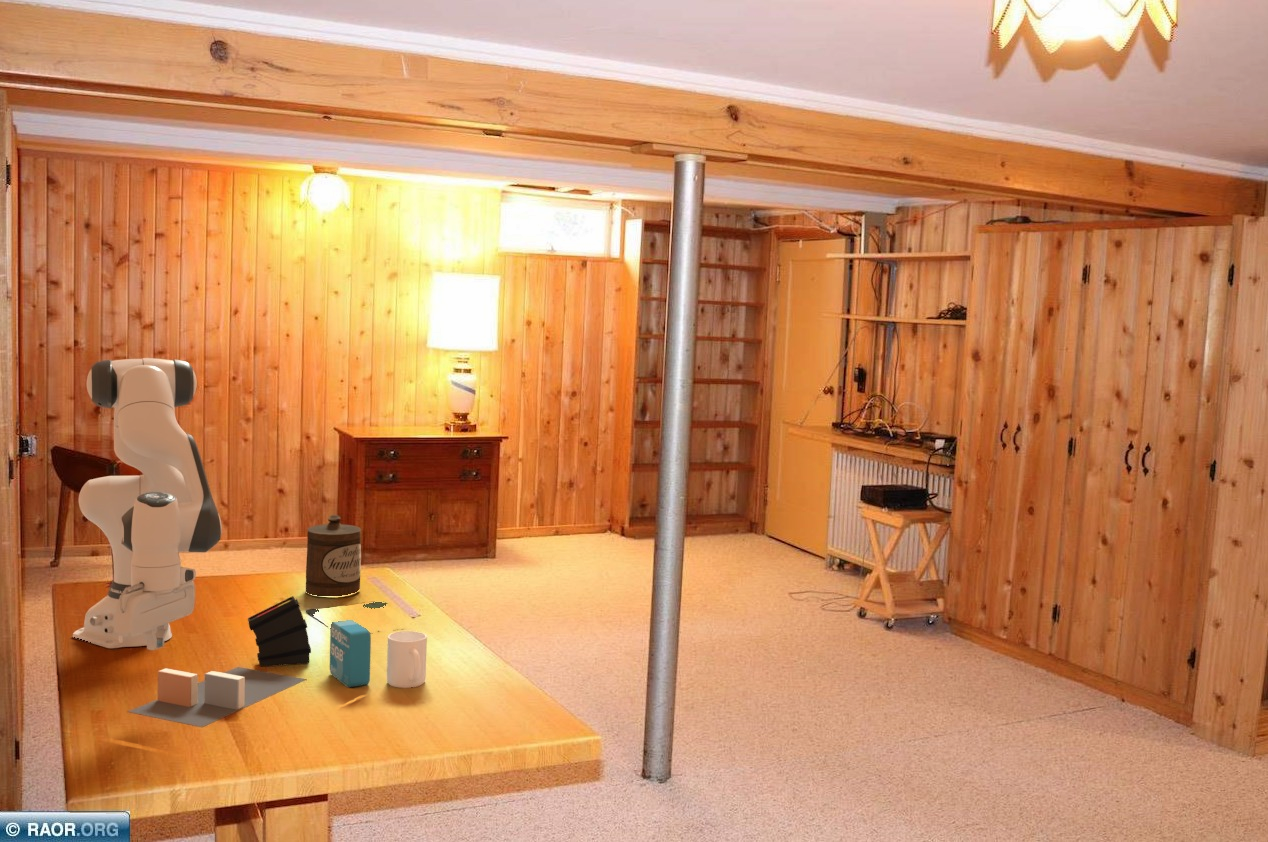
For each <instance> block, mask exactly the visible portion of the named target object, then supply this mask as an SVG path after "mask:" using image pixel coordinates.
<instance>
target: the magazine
mask: <svg viewBox="0 0 1268 842" xmlns="http://www.w3.org/2000/svg"><path fill="white" fill-rule="evenodd" d="M247 622H248V626H249V627H248V628H249V630H250V631H252V632H253V633H254V636H255V637H256V638H255V640H254V641H255V644H256V646H257V647H258V653H256V654H257V655H256V656H257V662H258V663H259V667H263V666H264V667H276V666H290V665H305V664H307V665H308V664H310V654H311V653H312V647H311V645H310V642H309V641H310V640H309V635H308V630H307V628H308V625H307V621H306V618H304V617H303V612H302V611H301V609H300V604H299V601H298V599H297V598H296V599H295V596H294V595H292V596H290V597H287V598H286V599H284V600H282V601H280V602H277V603H276V604H274V605H272V606H269V607H268V608H265V609H264V610H262V611H260V612H257V613H256V614H254V615H252V616H249V617H248V618H247Z"/></svg>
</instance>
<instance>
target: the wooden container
mask: <svg viewBox="0 0 1268 842" xmlns="http://www.w3.org/2000/svg"><path fill="white" fill-rule="evenodd" d="M327 520H328V523H327V524H326V523H325V524H317V525H314V526H313V525H311V526H309V527H308V528H307V535H306V536H307V537H306V538H307V540H306V541H307V545H306V547H307V548H306V562H305V563H306V567H305V568H306V569H305V593H306V592H307V593H309V594H312V595H317V596H342V595H348V594H351V593H355V592H357V591H358V590H359V589H360V590H361V569H362V568H361V566H362V565H361V563H362V562H361V560H362V558H361V557H362V556H361V555H362V553H361V549H362V548H361V547H362V545H361V541H362V529H361V527H359V526H357V525H351V524H341V516H339V515H338V514H331V515H330V516H329V517H328V518H327ZM307 593H306V594H307Z"/></svg>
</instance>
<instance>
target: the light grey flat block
mask: <svg viewBox="0 0 1268 842" xmlns="http://www.w3.org/2000/svg"><path fill="white" fill-rule="evenodd" d="M204 680H205V690H204V703H206V704H211V705H216V706H221V707H226V708H231V709H236V710H237V709H240V708H242V707H244V705H245V677H242V676H237V675H232V674H226V673H224V672H220V671H214V670H211V671H209V672H206V673H204Z"/></svg>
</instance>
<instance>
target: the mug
mask: <svg viewBox="0 0 1268 842" xmlns="http://www.w3.org/2000/svg"><path fill="white" fill-rule="evenodd" d="M427 643H428V635H427V634H426V633H424V632H421V631H420V632H419V631H416V630H415V631H414V630H402V631H400V630H399V631H395V632H392V633H390V634H389V635H387V656H386V657H387V659H386V661H387V663H386V681H387V684H388V685H390V686H391V687H394V688H399V689H412V688H411V687H413V688H417V687H420V686H422V685H423V684H424V683H425V681H426V676H427Z"/></svg>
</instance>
